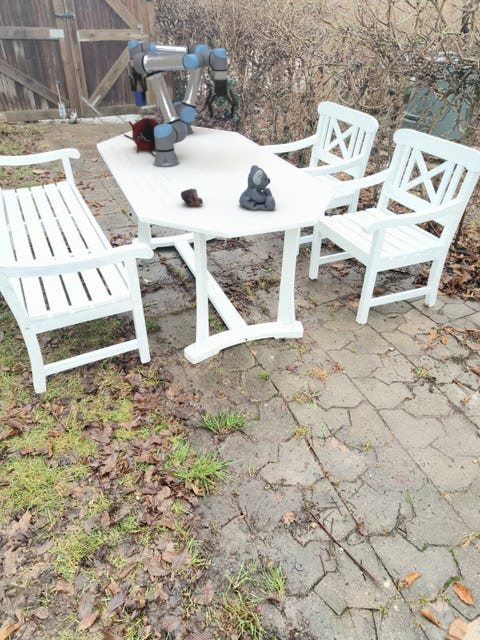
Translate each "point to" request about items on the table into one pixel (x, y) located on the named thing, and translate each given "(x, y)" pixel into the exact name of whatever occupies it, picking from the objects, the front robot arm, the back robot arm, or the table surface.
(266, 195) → the koala plush
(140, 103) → the block
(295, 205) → the table surface
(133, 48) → the back robot arm
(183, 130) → the front robot arm
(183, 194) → the rock
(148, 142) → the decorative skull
